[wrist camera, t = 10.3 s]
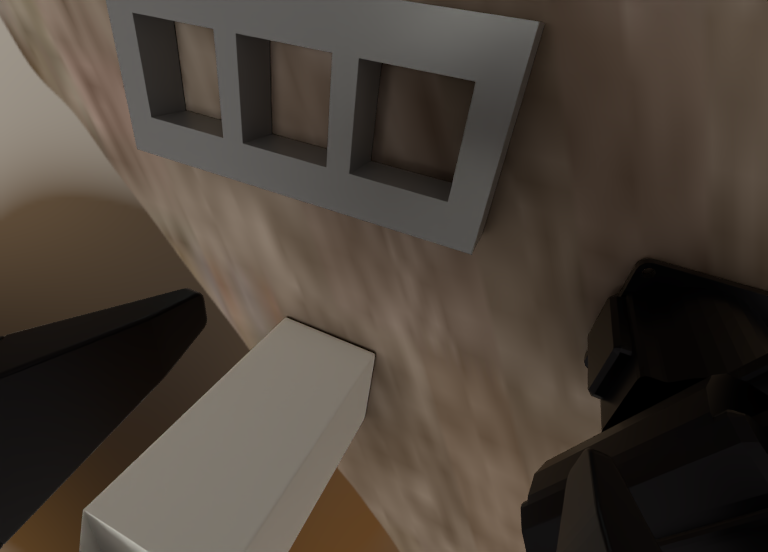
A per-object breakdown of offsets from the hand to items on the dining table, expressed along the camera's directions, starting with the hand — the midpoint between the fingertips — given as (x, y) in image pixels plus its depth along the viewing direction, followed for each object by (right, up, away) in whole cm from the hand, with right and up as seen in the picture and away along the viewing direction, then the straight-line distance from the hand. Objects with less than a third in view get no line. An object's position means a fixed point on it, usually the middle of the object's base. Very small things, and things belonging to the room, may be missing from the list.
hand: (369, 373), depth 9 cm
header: (-3, +11, +11) cm, 16 cm away
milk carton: (-4, -5, +21) cm, 22 cm away
